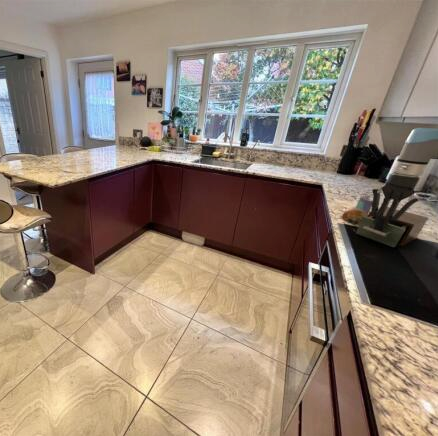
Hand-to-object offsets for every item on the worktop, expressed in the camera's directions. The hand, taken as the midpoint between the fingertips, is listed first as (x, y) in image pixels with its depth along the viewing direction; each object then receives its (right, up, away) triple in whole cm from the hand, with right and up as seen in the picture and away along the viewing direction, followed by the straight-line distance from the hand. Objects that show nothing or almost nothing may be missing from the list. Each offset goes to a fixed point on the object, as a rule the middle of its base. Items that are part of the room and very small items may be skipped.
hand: (375, 233), depth 92 cm
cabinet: (+14, -2, +9) cm, 17 cm away
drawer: (+6, -2, +4) cm, 8 cm away
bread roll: (+10, +4, +21) cm, 24 cm away
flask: (+21, +8, +30) cm, 38 cm away
